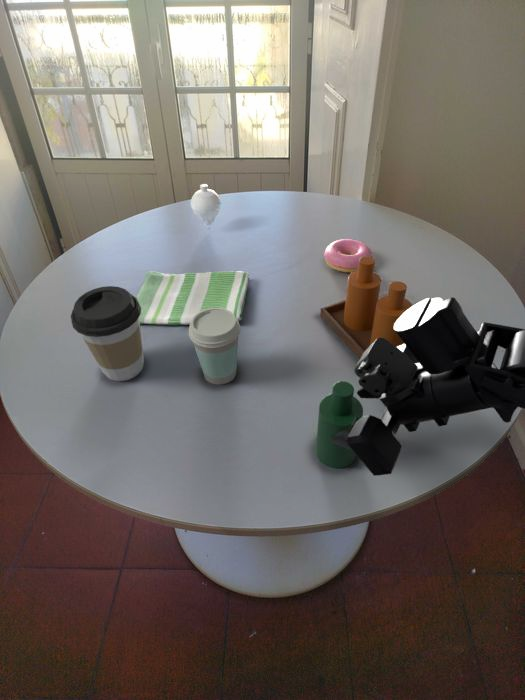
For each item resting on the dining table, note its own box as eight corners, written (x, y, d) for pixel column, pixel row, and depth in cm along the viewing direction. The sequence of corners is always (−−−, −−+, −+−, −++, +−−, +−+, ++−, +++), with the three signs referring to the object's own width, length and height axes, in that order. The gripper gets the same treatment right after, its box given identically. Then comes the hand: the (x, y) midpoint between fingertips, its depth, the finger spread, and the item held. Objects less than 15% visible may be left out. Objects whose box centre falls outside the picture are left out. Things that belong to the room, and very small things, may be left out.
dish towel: (149, 277, 108) (147, 267, 106) (250, 278, 106) (249, 268, 105) (127, 326, 95) (124, 315, 93) (241, 329, 93) (240, 318, 91)
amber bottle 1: (379, 319, 93) (390, 258, 84) (364, 335, 90) (373, 273, 81) (354, 308, 96) (361, 248, 87) (337, 322, 93) (343, 262, 84)
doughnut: (315, 256, 112) (316, 241, 110) (356, 246, 115) (358, 231, 112) (337, 280, 105) (338, 264, 102) (379, 269, 108) (382, 253, 105)
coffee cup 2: (227, 350, 89) (221, 299, 81) (253, 376, 83) (249, 324, 75) (187, 370, 85) (177, 318, 77) (212, 398, 80) (203, 345, 72)
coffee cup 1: (114, 341, 92) (93, 277, 82) (166, 354, 89) (150, 288, 78) (79, 381, 84) (51, 316, 74) (134, 396, 81) (112, 330, 71)
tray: (460, 388, 80) (463, 380, 78) (406, 411, 76) (409, 402, 75) (366, 300, 99) (367, 292, 98) (320, 315, 96) (320, 307, 94)
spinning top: (194, 223, 127) (188, 180, 119) (222, 221, 127) (218, 178, 119) (194, 237, 121) (188, 192, 113) (223, 235, 122) (219, 190, 114)
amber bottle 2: (408, 346, 87) (423, 284, 78) (392, 364, 84) (406, 301, 74) (379, 333, 90) (390, 271, 81) (363, 350, 87) (372, 287, 77)
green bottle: (363, 449, 71) (375, 386, 62) (341, 475, 68) (350, 413, 59) (330, 429, 74) (336, 366, 65) (308, 453, 71) (311, 391, 62)
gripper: (429, 293, 57) (338, 333, 69) (376, 392, 46) (277, 421, 57) (478, 360, 60) (382, 389, 71) (439, 472, 48) (332, 483, 60)
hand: (346, 416), depth 65 cm, fingers open, 9 cm apart
